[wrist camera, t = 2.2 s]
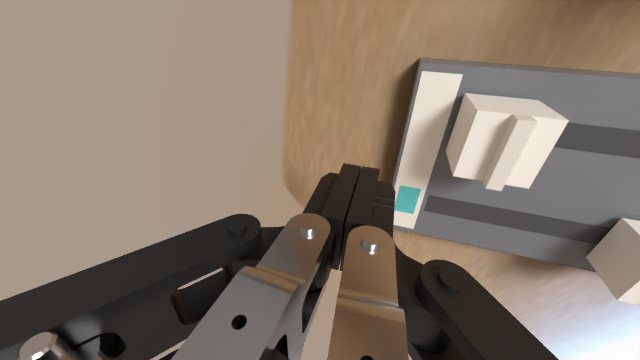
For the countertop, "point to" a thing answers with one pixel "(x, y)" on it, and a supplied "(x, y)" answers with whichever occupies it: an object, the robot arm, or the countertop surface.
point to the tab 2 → (620, 260)
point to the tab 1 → (502, 139)
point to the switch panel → (551, 181)
